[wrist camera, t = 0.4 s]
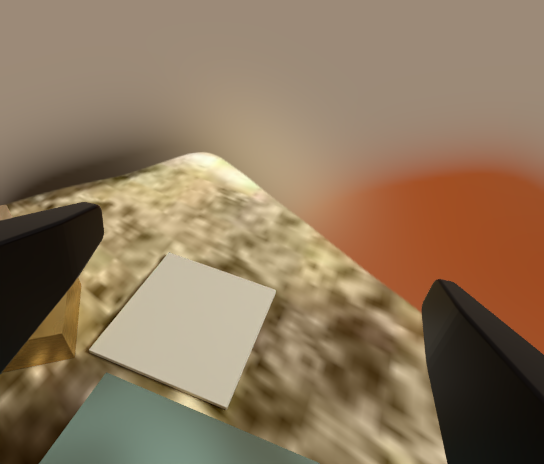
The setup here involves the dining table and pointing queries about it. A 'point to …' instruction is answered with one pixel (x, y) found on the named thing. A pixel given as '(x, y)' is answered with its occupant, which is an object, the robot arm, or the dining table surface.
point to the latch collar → (52, 334)
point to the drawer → (155, 433)
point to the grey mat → (188, 328)
